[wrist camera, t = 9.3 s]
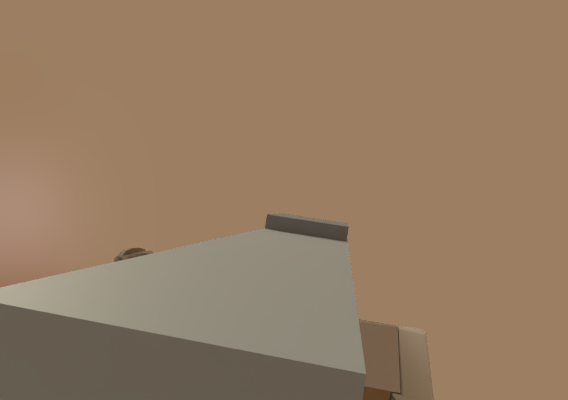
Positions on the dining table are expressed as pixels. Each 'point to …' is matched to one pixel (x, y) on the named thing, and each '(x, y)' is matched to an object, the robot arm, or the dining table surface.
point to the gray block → (193, 323)
